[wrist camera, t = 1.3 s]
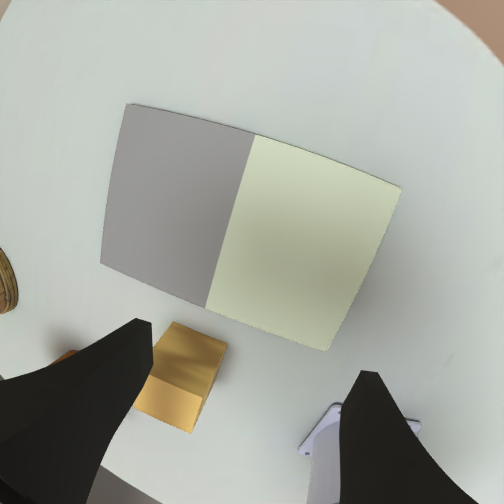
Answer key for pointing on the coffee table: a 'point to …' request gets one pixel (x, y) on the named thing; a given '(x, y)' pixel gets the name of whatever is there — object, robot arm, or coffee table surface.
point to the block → (181, 376)
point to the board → (242, 223)
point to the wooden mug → (7, 286)
